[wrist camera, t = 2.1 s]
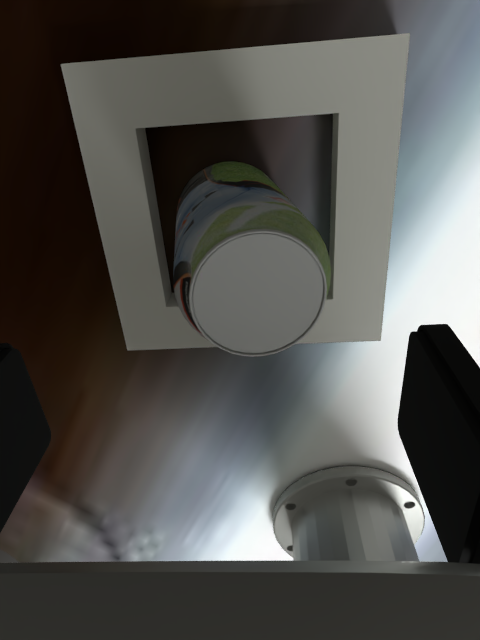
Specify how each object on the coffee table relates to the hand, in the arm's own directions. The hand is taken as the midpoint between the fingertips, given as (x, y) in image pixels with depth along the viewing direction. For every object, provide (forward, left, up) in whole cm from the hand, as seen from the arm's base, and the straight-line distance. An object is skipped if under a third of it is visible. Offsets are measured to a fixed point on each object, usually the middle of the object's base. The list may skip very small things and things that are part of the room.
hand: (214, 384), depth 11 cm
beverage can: (0, 0, -17) cm, 17 cm away
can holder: (0, 0, -17) cm, 17 cm away
